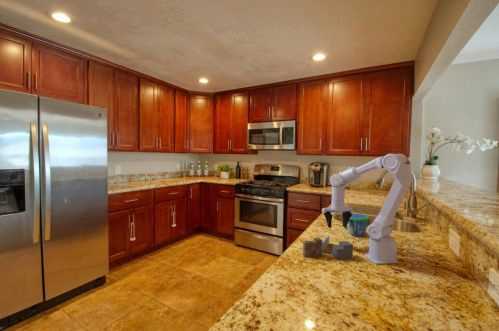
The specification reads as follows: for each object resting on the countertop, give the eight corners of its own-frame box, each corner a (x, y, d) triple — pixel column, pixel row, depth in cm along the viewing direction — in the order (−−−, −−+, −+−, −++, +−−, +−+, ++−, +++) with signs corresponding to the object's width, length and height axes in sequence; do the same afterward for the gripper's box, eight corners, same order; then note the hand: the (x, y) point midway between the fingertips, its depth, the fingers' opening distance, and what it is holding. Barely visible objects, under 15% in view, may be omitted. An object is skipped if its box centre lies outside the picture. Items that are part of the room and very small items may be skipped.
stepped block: (347, 254, 97) (347, 241, 97) (352, 258, 93) (353, 244, 93) (331, 255, 96) (332, 241, 96) (336, 259, 92) (337, 245, 92)
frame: (347, 251, 100) (347, 236, 99) (351, 255, 96) (352, 239, 96) (301, 253, 97) (302, 237, 97) (304, 257, 94) (305, 240, 94)
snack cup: (349, 238, 115) (350, 219, 114) (338, 231, 125) (339, 213, 125) (376, 237, 117) (377, 218, 117) (363, 230, 128) (364, 212, 127)
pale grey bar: (321, 252, 98) (321, 243, 98) (317, 251, 99) (317, 242, 99) (328, 243, 108) (329, 235, 108) (324, 242, 109) (324, 234, 109)
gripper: (347, 197, 111) (346, 224, 112) (319, 197, 109) (318, 224, 110) (356, 200, 104) (354, 229, 105) (326, 200, 102) (325, 229, 103)
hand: (337, 227), depth 107 cm, fingers open, 7 cm apart
